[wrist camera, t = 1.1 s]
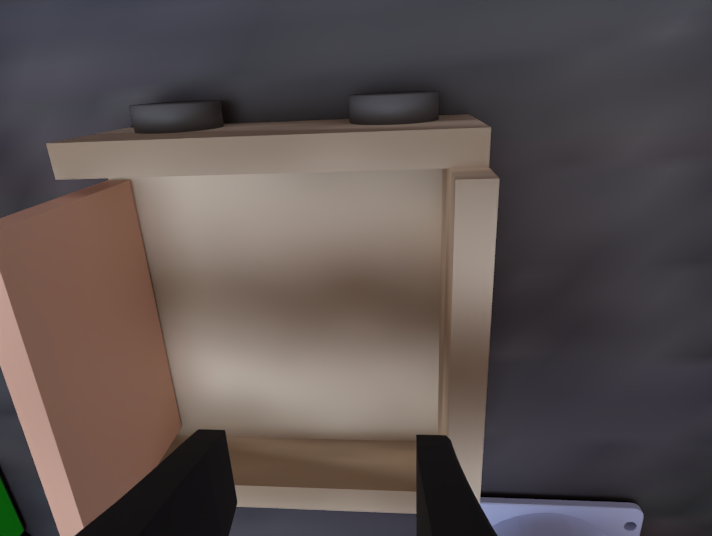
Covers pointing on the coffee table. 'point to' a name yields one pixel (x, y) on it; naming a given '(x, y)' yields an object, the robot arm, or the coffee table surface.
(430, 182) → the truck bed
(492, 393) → the coffee table surface
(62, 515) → the panel
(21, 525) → the puzzle cube
